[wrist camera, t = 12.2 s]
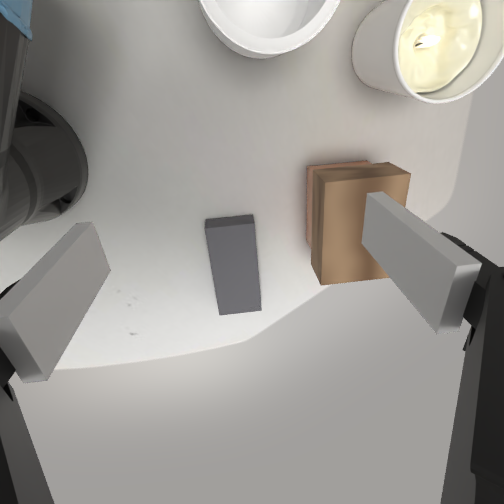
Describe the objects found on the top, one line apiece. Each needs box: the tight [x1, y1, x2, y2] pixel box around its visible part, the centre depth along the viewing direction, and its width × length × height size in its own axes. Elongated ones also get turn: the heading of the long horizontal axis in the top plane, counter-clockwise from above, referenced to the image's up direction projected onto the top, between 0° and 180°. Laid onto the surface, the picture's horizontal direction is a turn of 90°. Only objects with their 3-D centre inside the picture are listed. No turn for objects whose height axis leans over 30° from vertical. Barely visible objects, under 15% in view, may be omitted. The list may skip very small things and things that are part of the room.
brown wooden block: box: [311, 162, 411, 285], centre depth 37 cm, size 9×13×5 cm
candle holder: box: [352, 0, 504, 104], centre depth 30 cm, size 10×10×12 cm
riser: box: [205, 215, 262, 315], centre depth 46 cm, size 7×15×3 cm, turn 4°
